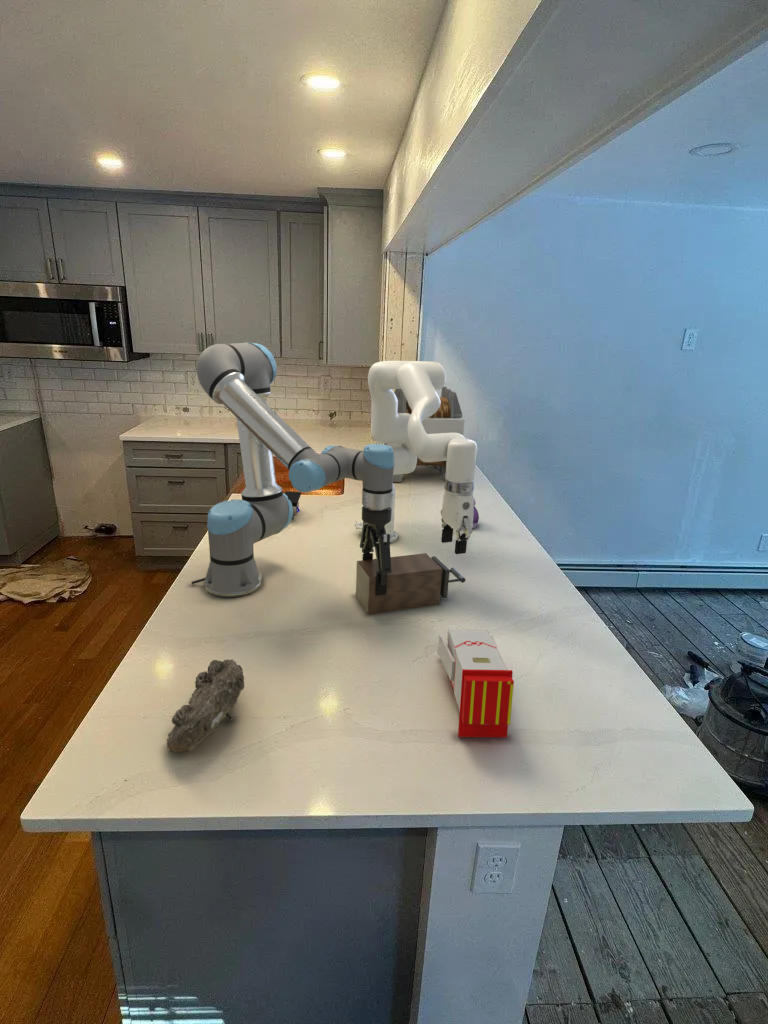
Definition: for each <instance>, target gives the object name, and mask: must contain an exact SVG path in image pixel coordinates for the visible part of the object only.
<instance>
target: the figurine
mask: <svg viewBox="0 0 768 1024" xmlns="http://www.w3.org/2000/svg"><path fill="white" fill-rule="evenodd" d="M474 489H475V487H474V485H473V491H474ZM472 494H473V495H474V492H473V493H472ZM473 503H474V511H473V527H472V529H475V528H477V526H478V524H479V520H480V515H479V511H478V509H477V507H476V503H477V502H476V499H475V496H473ZM459 529H464V528H463V527H460V528H459Z"/></svg>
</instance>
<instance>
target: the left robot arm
mask: <svg viewBox="0 0 768 1024" xmlns="http://www.w3.org/2000/svg"><path fill="white" fill-rule="evenodd" d="M277 373H278V367H277V362H276V359H275V358H274V355H273V354H272V352H271V351H270V350H269V349H268V348H267V347H266V346H265V345H263V344H261V343H257V342H248V341H245V342H236V343H233V342H232V343H215V344H212V345H209V346H208V347H207V348H205V349H204V350H203V351H202V352H201V353H200V355H199V356H198V359H197V362H196V376H197V380H198V382H199V385H200V386H201V388H202V389H203V391H204V392H205V393H206V395H208V397H209V398H210V399H211V400H212V401H213V402H214V403H216V404H218V405H223V406H224V407H225V408H226V409H227V410H229V412H230V413H231V414H233V416H234V417H235V418H236V425H237V433H238V439H239V447H240V455H241V461H242V462H241V463H242V470H243V476H244V483H245V487H244V489H243V490H242V491H241V493H240V495H241V499H230V500H224V501H221V502H218V503H216V504H215V505H213V506H212V507H211V508H210V509H209V511H207V521H206V522H207V523H206V528H207V535H208V536H207V537H208V548H209V564H208V567H207V571H206V575H205V577H203V578H200V579H195V580H193V581H191V582H190V584H191V585H195V584H198V583H202V582H204V589H205V591H206V592H207V593H208V594H210V595H212V596H215V597H219V598H238V597H244V596H247V595H249V594H252V593H254V592H256V591H258V589H260V587H261V585H262V577H263V575H262V573H261V572H260V570H259V568H258V565H257V562H256V560H255V556H254V555H255V554H254V544H256V543H258V542H260V541H262V540H265V539H267V538H270V537H272V536H275V535H277V534H279V533H281V532H282V531H284V530H285V529H287V528H288V527H289V526H290V524H291V523H292V521H293V520H292V517H293V507H292V503H291V501H290V500H288V497H287V495H285V492H283V487H282V486H280V485H279V484H278V483H277V477H276V472H275V471H276V470H275V462H274V461H275V460H274V456H275V458H277V460H279V461H280V462H281V463H282V464H283V465H284V466H285V467H286V469H287V470H288V479H289V481H290V483H291V486H292V487H293V489H295V490H296V491H297V492H301V493H304V494H305V493H310V492H314V491H319V490H321V489H322V488H323V487H326V486H329V485H331V484H334V483H336V482H339V481H342V480H345V479H350V480H355V481H361V482H362V491H361V505H362V507H361V521H362V523H363V528H362V530H361V533H362V535H361V534H360V542H359V543H360V544H359V548H360V549H361V553H362V559H361V560H370V559H374V553H375V559H376V560H377V566H378V571H376V596H378V595H385V594H386V593H387V573H391V571H392V570H391V557H392V556H391V545H390V544H391V542H390V534H386V530H385V525H386V524H387V523H389V522H390V521H391V513H392V508H391V507H390V506H391V505H392V496H393V495H394V493H393V492H392V489H393V488H392V485H393V484H394V482H393V471H394V450H393V448H392V447H390V446H388V445H384V444H382V443H369V444H366V445H365V446H364V448H363V450H361V449H356V448H350V447H345V446H342V445H327V446H326V447H324V449H323V450H322V451H321V453H320V454H319V453H318V452H317V451H316V450H314V449H313V448H312V447H311V446H310V444H308V443H307V442H306V441H305V440H304V439H303V438H302V437H301V436H300V435H299V434H298V433H297V432H296V431H295V430H294V429H293V428H292V427H291V426H290V425H289V424H287V422H285V420H284V419H283V418H281V417H280V415H279V414H278V413H276V411H274V409H272V408H271V407H270V406H269V405H268V404H267V398H268V397H269V396H270V395H271V393H272V391H271V384H272V383H273V382H274V381H275V378H276V377H277ZM376 542H379V543H376Z"/></svg>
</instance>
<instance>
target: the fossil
mask: <svg viewBox="0 0 768 1024" xmlns="http://www.w3.org/2000/svg"><path fill="white" fill-rule="evenodd" d="M243 670H244V669H243V667H242V665H240V664H237V662H236V661H235V660H234V659H232V658H231V659H227V658H226V659H224V660H223V661H222V660H217V659H212V660H211V661H210V663H209V665H208V666H207V671H201V672H199V673H198V674H197V675H196V676H195V680H194V684H195V685H194V687H195V689H194V690H193V693H192V694H191V697H190V698H189V700H188V704H184V705H182V706H181V707H180V709H177V710H176V711H175V713H174V715H173V716H172V718H171V723H172V724H173V727H172V730H171V731H170V732H168V734H167V738H166V741H167V742H166V745H167V749H168V750H169V751H173V752H174V753H176V754H178V753H182V752H188V751H189V752H192V751H193V750H195V748H196V747H197V746H199V744H200V743H201V742H203V741H204V740H205V739H206V738H207V737H208V736H209V735H210V734H211V733H212V732H214V730H215V729H217V727H218V726H219V724H220V722H221V721H222V720H223V719H224V718H225V716H226V717H227V719H229V720H233V717H232V715H230V714H229V710H230V709H231V708H234V706H235V704H236V703H237V702H238V699H239V697H240V695H241V693H242V691H243V690H245V689H244V688H245V675H244V671H243Z"/></svg>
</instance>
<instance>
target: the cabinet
mask: <svg viewBox="0 0 768 1024" xmlns="http://www.w3.org/2000/svg"><path fill="white" fill-rule="evenodd" d="M431 557H432V556H430V555H429V554H428V553H426V552H424V553H416V554H407V555H405V554H404V555H397V556H391V570H392V571H391V573H387V593H386V594H385V595H378V596H376V571H378V566H377V560H376V558H373V559H370V560H362V559H361V560H357V561H356V574H355V575H356V577H355V579H356V580H355V597H356V599H357V600H358V601H359V603H360V605H361V606H362V608H363V609H364V611H365V612H366V614H367V615H374V614H379V613H387V612H393V611H400V610H408V609H414V608H421V607H428V606H433V605H440V602H441V601H440V598H441V596H440V589H441V577H442V568H441V567H440V566H439V565H438V564H437V563H436V562H435V561H434V560H433V559H432V558H431Z"/></svg>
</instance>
